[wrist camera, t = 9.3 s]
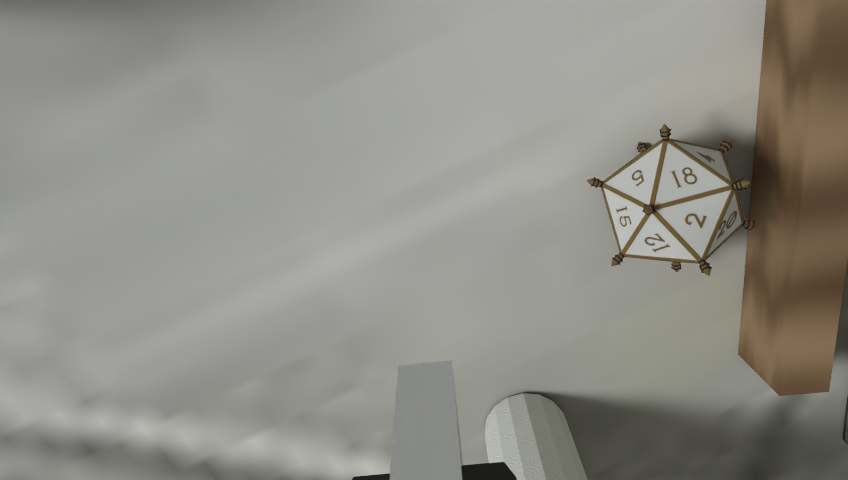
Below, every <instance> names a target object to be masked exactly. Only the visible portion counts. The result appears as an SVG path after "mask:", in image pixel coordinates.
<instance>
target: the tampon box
mask: <svg viewBox="0 0 848 480" xmlns="http://www.w3.org/2000/svg"><path fill="white" fill-rule="evenodd" d="M843 440H844V441H845V442H846V443H847V444H848V398H847V406H846V414H845V422H844V432H843Z"/></svg>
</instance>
